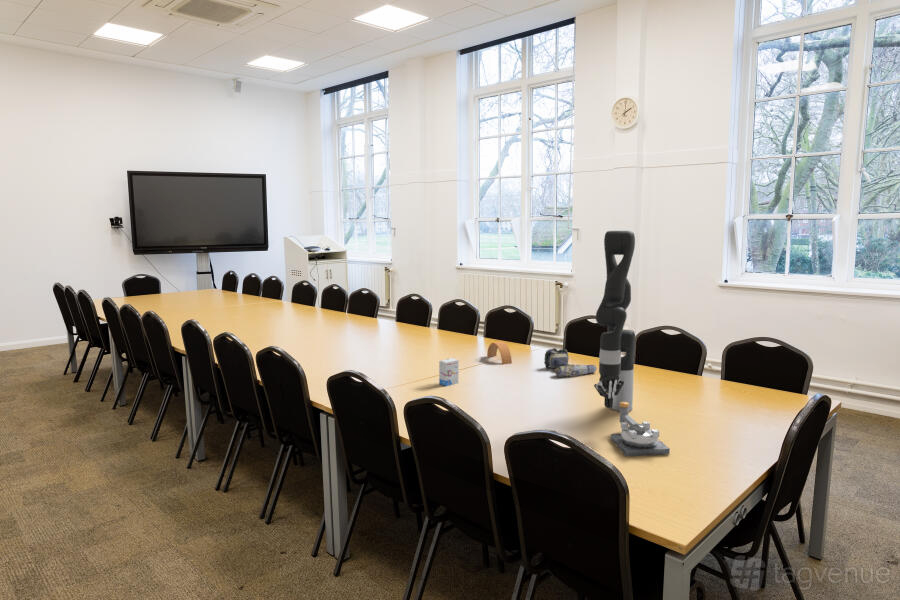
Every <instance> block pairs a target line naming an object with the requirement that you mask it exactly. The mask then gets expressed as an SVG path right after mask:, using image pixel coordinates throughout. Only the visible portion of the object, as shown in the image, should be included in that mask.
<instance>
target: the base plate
mask: <svg viewBox="0 0 900 600" xmlns="http://www.w3.org/2000/svg"><path fill="white" fill-rule="evenodd" d="M610 440H611V442H612V441H613V442H614V443H615V444H616V445H617V446H616V445H615V444H614V443H613V442H612V443H613V444H614V445H615V446H616V448H617V449H618V450H621V451H622V452H623V453H622V452H621V451H620V452H621V453H622V454H623V455H624V456H625V457H639V456H640V457H641V456H643V455H646V456H663V454H669V455H670V454H671V453H670V452H671V451H670V449H671V448H669V446H667V445H666V444H665V443H664V442H663V441H662V440H661V439H659V438H658V443H657V445H655V446H653V447H635V446H630V445H628V444H625V443H624V442H622V440H621V433H610Z"/></svg>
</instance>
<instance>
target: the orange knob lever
mask: <svg viewBox="0 0 900 600" xmlns="http://www.w3.org/2000/svg"><path fill="white" fill-rule="evenodd" d="M628 407H629V403H627V402H620V411H619V423H620V429H621V431H620V432H621V433H620V434H621V440H622V442H624V443H625V444H628V445H630V446H635V447H653V446H655V445H657V443H658V439H659V438H660V431H659V429H654V428H651V423H650V422H649V421H648V420H646V421H642V422H641V423H638V422H637V421H636V420H635V419H633V418H632V417H631V416H630V415H629V411H628Z"/></svg>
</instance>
